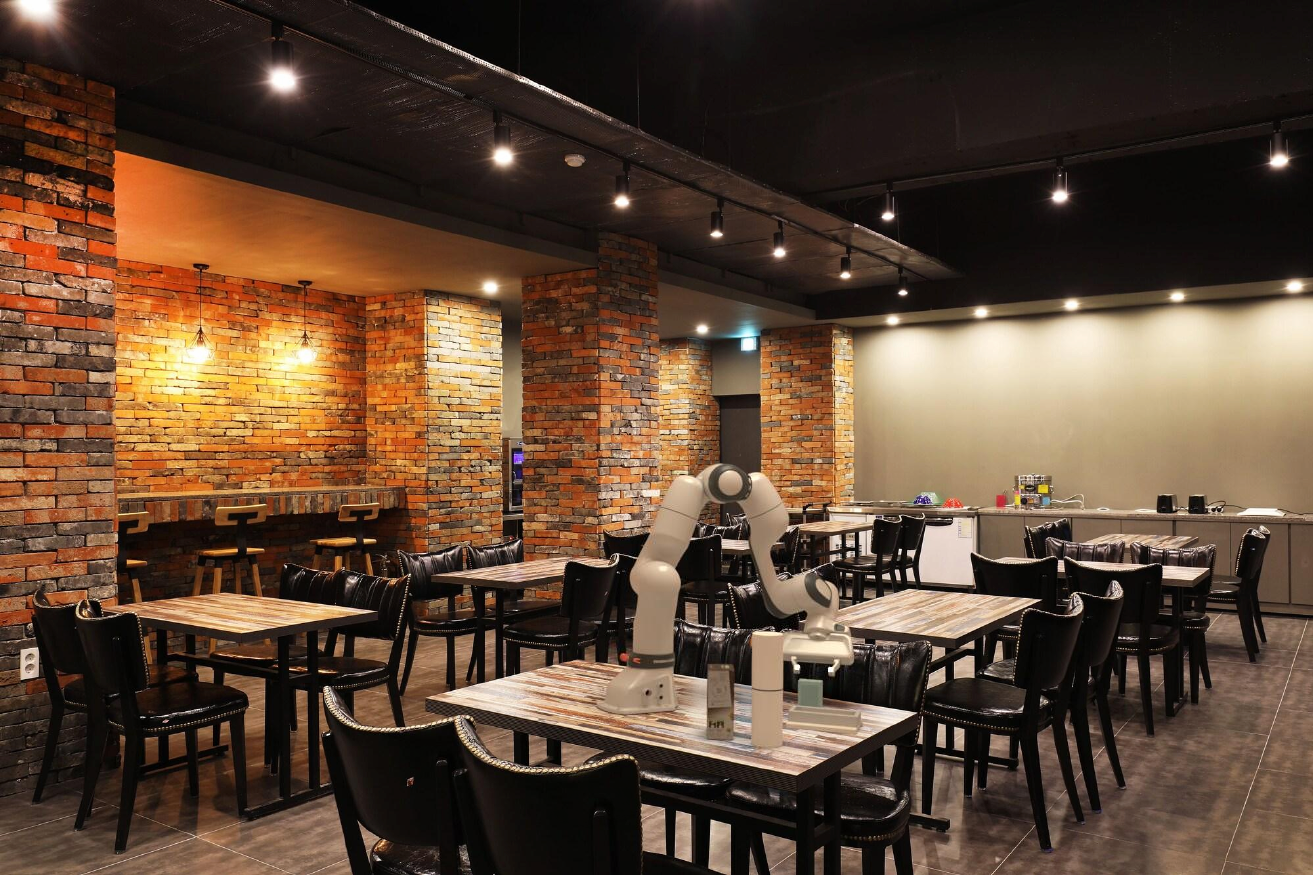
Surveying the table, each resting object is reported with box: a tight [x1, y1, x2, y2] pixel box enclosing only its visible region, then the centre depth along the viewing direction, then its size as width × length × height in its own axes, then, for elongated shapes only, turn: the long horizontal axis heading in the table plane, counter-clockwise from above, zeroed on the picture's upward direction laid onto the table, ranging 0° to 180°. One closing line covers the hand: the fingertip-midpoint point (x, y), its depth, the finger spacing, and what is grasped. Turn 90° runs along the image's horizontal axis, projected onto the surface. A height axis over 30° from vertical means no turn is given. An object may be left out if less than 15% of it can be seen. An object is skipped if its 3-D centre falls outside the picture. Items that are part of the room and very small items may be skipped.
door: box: [797, 678, 824, 708], centre depth 250 cm, size 3×6×8 cm, turn 71°
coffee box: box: [706, 663, 735, 741], centre depth 225 cm, size 9×6×16 cm
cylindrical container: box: [750, 631, 784, 749], centre depth 218 cm, size 7×7×25 cm
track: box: [785, 704, 863, 735], centre depth 236 cm, size 13×17×4 cm
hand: (813, 673), depth 256 cm, fingers open, 8 cm apart
